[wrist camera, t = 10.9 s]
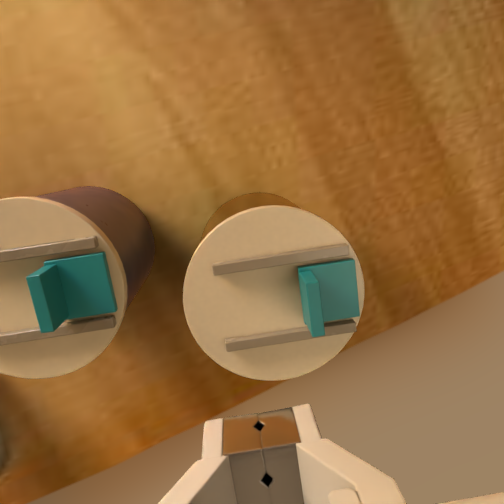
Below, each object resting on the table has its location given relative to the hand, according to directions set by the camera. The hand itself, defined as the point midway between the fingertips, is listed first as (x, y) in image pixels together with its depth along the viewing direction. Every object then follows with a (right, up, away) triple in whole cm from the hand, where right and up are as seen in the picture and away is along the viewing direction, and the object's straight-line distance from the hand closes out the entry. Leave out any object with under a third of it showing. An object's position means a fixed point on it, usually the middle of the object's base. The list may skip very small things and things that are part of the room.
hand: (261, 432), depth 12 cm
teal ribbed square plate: (-10, +3, +12) cm, 16 cm away
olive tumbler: (0, +5, +25) cm, 25 cm away
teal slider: (+4, +3, +13) cm, 14 cm away
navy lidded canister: (-13, +5, +24) cm, 28 cm away
